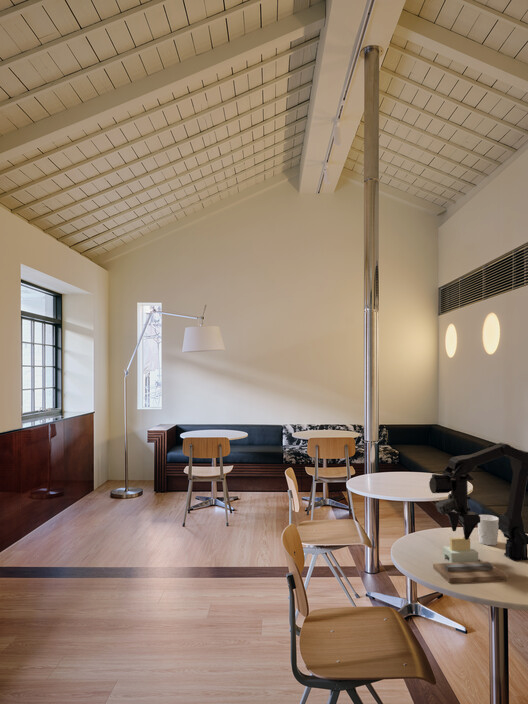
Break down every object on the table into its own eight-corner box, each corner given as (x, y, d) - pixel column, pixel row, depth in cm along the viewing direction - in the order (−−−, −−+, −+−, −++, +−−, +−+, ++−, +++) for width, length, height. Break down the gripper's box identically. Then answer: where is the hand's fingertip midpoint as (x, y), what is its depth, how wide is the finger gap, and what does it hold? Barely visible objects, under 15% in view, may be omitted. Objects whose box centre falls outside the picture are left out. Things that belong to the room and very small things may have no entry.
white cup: (473, 540, 201) (472, 515, 202) (489, 538, 204) (488, 513, 204) (487, 547, 194) (486, 521, 194) (503, 544, 196) (503, 519, 196)
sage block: (468, 556, 185) (468, 534, 185) (478, 563, 178) (477, 541, 178) (442, 557, 184) (442, 535, 184) (451, 564, 177) (451, 542, 177)
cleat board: (487, 565, 176) (487, 557, 176) (507, 580, 164) (506, 571, 164) (433, 568, 174) (433, 559, 174) (449, 582, 162) (449, 573, 162)
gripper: (427, 486, 190) (428, 527, 190) (450, 499, 172) (451, 545, 171) (455, 486, 191) (455, 526, 191) (480, 498, 173) (481, 543, 172)
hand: (460, 535), depth 181 cm, fingers open, 9 cm apart
